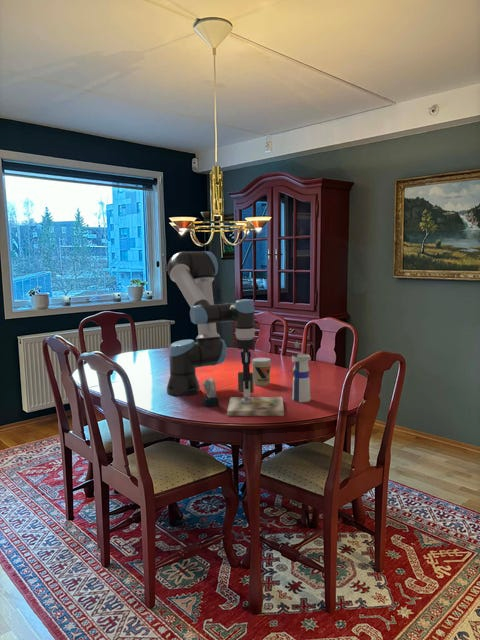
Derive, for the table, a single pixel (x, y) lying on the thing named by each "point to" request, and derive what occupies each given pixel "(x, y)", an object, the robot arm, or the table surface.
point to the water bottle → (301, 377)
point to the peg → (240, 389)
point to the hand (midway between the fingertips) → (246, 395)
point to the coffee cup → (261, 371)
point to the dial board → (256, 407)
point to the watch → (210, 393)
